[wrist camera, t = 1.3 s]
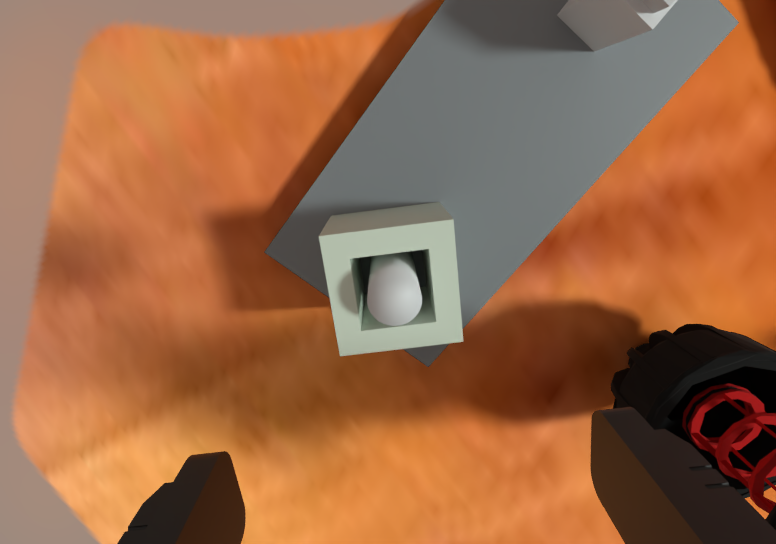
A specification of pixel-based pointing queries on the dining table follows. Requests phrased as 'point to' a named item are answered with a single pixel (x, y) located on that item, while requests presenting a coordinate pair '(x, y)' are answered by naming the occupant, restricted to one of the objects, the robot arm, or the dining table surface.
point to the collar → (386, 236)
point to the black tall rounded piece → (710, 401)
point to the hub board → (499, 133)
